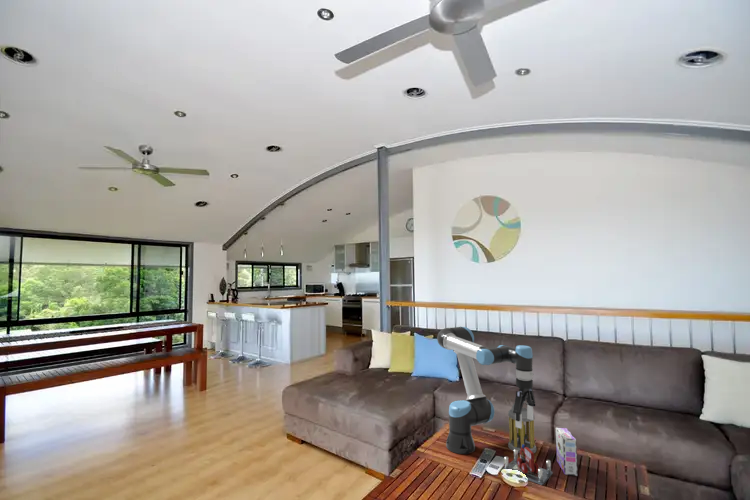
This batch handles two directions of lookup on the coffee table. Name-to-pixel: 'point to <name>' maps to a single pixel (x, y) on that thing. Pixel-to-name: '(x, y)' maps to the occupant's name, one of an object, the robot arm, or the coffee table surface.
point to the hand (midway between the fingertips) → (524, 423)
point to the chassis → (532, 476)
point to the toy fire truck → (527, 460)
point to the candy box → (566, 451)
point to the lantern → (521, 432)
